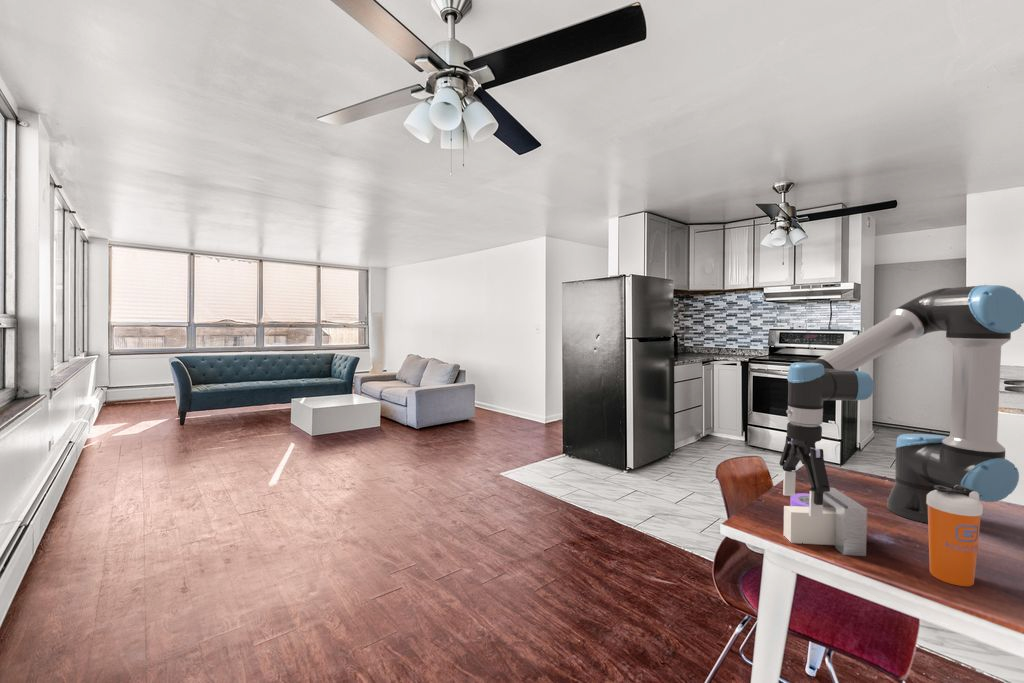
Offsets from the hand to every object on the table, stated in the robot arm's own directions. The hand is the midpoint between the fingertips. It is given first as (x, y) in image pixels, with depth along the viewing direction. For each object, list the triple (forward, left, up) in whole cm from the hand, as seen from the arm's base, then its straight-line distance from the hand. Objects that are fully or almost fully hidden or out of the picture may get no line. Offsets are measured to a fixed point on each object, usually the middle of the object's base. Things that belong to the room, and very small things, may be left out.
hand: (801, 505), depth 118 cm
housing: (-9, 0, -9) cm, 13 cm away
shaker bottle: (-24, +15, -9) cm, 30 cm away
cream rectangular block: (-5, 0, -9) cm, 10 cm away
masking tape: (-12, -18, -10) cm, 24 cm away
